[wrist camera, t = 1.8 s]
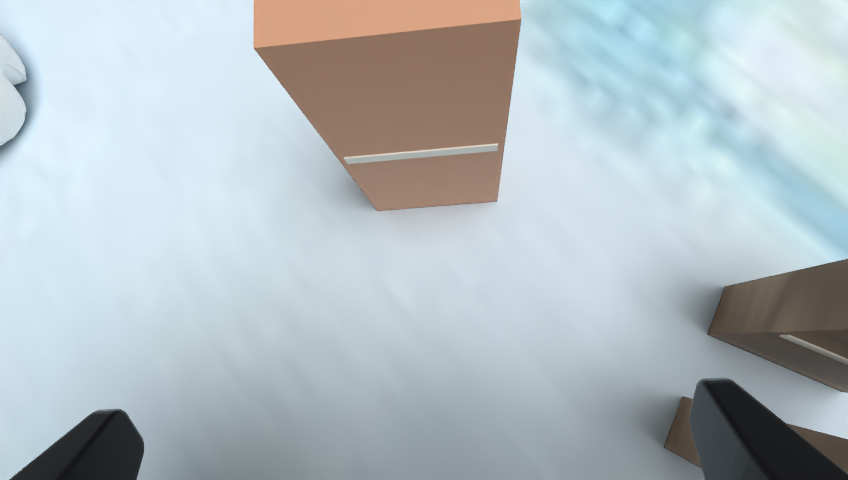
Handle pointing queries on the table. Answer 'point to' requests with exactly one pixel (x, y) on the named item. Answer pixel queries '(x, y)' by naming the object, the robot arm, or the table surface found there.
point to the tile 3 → (792, 321)
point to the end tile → (401, 89)
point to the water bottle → (10, 92)
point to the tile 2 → (833, 447)
